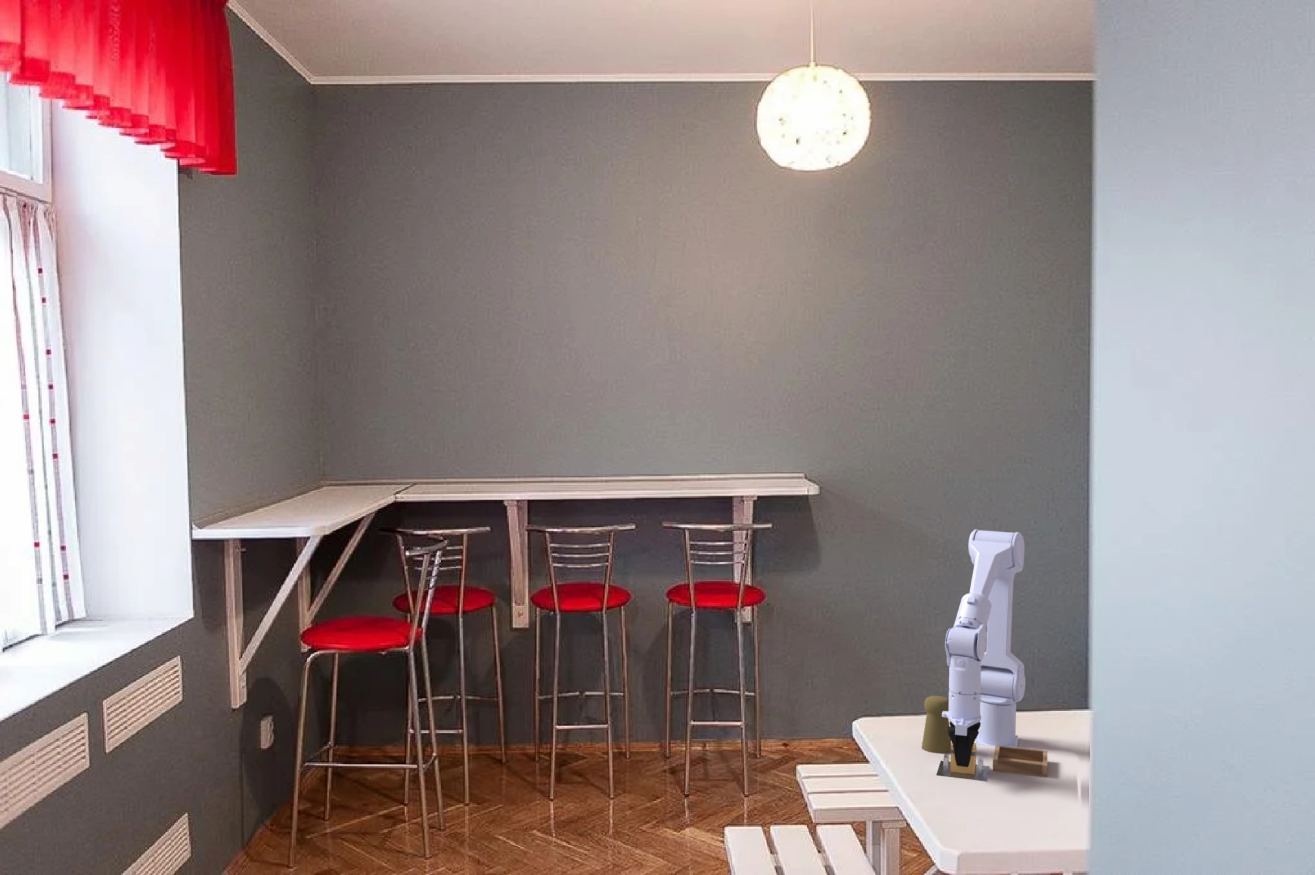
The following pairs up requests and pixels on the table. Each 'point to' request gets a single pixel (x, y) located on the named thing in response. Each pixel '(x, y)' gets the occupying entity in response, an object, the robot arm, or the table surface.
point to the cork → (936, 725)
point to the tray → (1020, 761)
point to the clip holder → (979, 775)
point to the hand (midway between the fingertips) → (963, 763)
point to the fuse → (954, 768)
